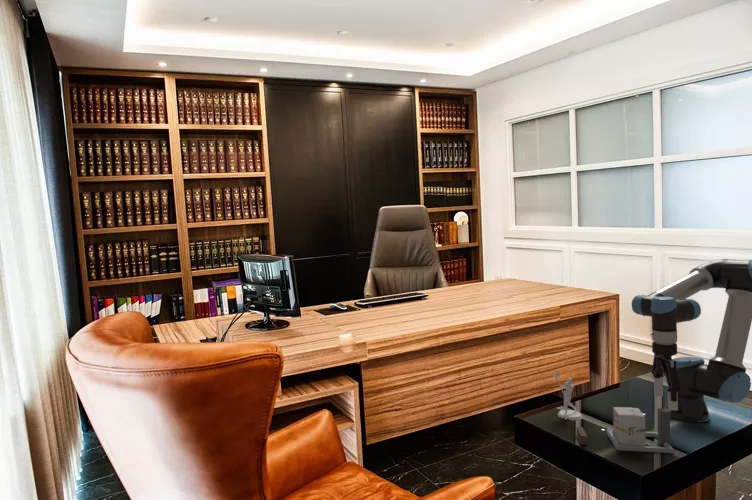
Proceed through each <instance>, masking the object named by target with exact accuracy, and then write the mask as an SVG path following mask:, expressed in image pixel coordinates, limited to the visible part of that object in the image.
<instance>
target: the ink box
mask: <svg viewBox="0 0 752 500" xmlns="http://www.w3.org/2000/svg"><path fill="white" fill-rule="evenodd" d="M612 408H613V409H612V413H613V414H612V416H613V417H612V418H613V419H612V421H613V424H612V425H613V426H612V427H613V429H612V430H613V434H614V436H615V437H616V439H617V440H618V442H619V443H620V445H634V446H646V437H645V432H646V416H645V415H644V413H643V412H642V411H641V410H640V408H638V407H628V406H627V407H626V406H625V407H622V406H621V407H620V406H613V407H612Z"/></svg>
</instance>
